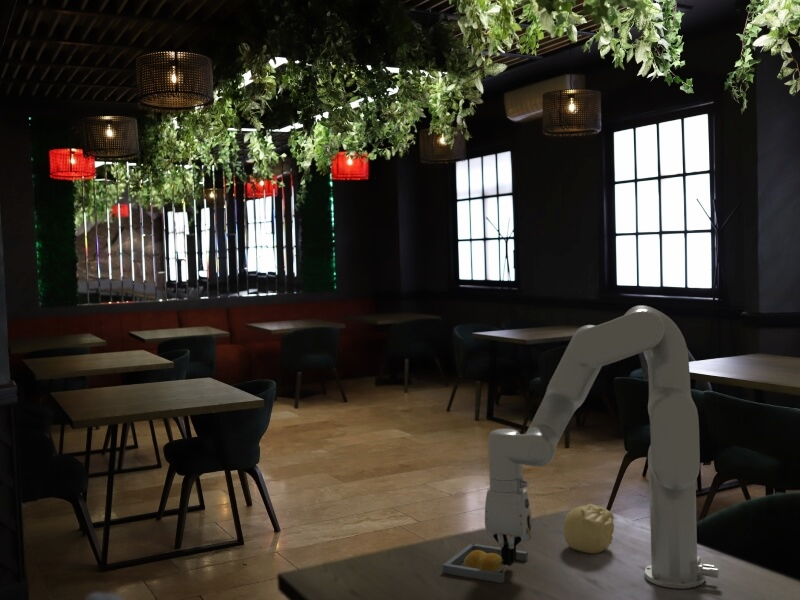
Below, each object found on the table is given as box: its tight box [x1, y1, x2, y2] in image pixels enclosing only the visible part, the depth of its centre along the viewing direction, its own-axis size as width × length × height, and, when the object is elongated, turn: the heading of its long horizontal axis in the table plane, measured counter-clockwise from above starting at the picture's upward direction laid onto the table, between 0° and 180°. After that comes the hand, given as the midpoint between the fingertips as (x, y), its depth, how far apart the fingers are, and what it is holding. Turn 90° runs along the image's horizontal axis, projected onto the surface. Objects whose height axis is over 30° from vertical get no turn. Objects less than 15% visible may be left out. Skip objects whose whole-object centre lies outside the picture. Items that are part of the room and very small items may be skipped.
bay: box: [442, 543, 529, 584], centre depth 192 cm, size 15×15×2 cm
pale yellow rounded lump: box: [562, 503, 615, 554], centre depth 200 cm, size 12×12×11 cm
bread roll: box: [463, 550, 505, 573], centre depth 191 cm, size 8×9×4 cm
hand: (509, 563), depth 189 cm, fingers closed
